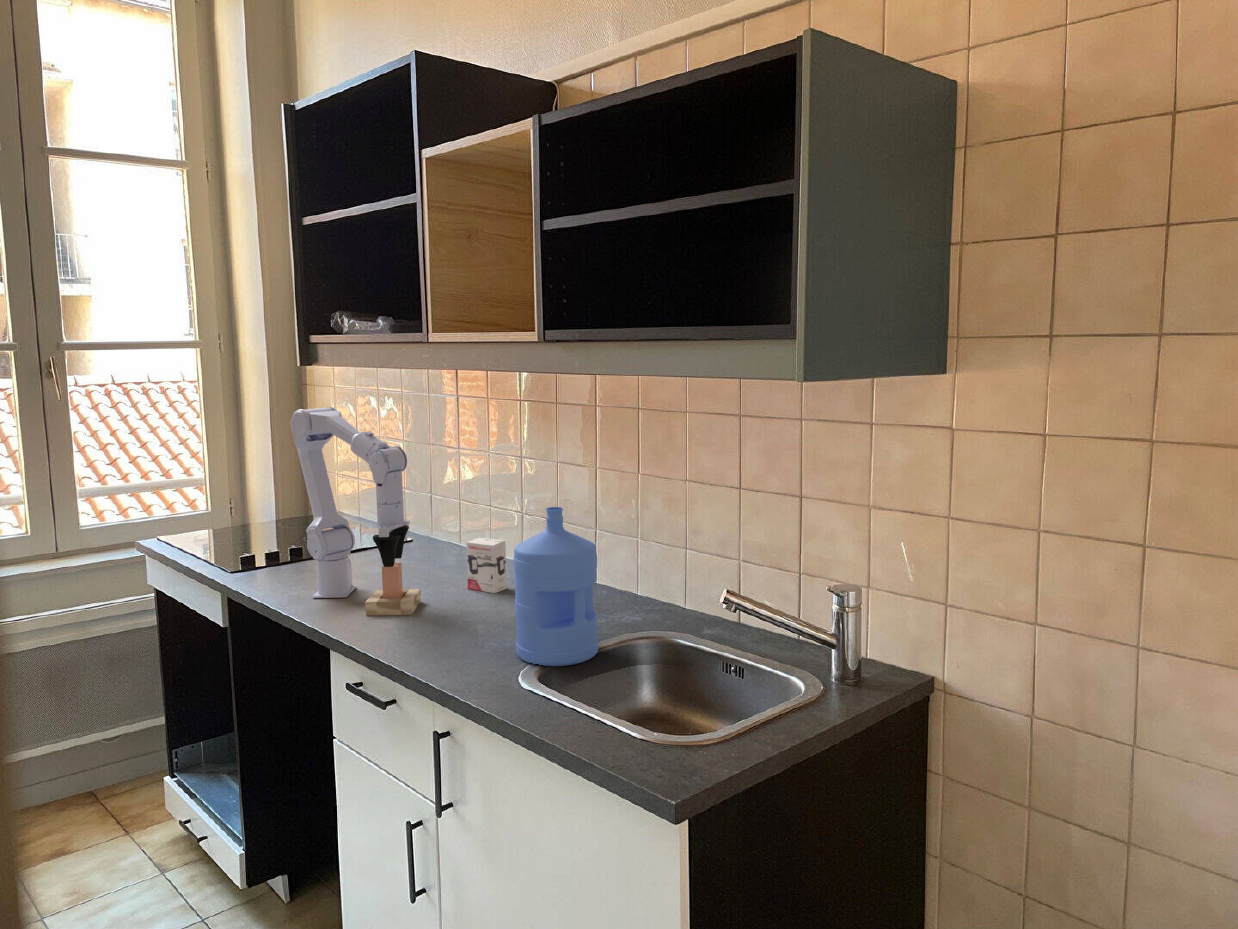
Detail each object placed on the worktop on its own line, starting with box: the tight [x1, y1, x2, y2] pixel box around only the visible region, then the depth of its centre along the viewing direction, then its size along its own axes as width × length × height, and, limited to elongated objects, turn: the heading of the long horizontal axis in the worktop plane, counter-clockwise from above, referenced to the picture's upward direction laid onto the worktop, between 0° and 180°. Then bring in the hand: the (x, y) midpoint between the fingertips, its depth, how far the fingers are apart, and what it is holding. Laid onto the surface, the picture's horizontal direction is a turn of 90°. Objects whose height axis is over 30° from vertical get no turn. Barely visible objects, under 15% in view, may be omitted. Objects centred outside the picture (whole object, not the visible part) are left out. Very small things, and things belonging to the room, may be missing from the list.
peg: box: [381, 562, 404, 599], centre depth 206 cm, size 4×4×10 cm
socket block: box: [364, 588, 422, 616], centre depth 207 cm, size 10×10×3 cm
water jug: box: [513, 506, 600, 667], centre depth 174 cm, size 16×16×28 cm
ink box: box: [466, 537, 508, 594], centre depth 221 cm, size 8×5×12 cm, turn 60°
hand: (392, 562), depth 206 cm, fingers open, 7 cm apart
